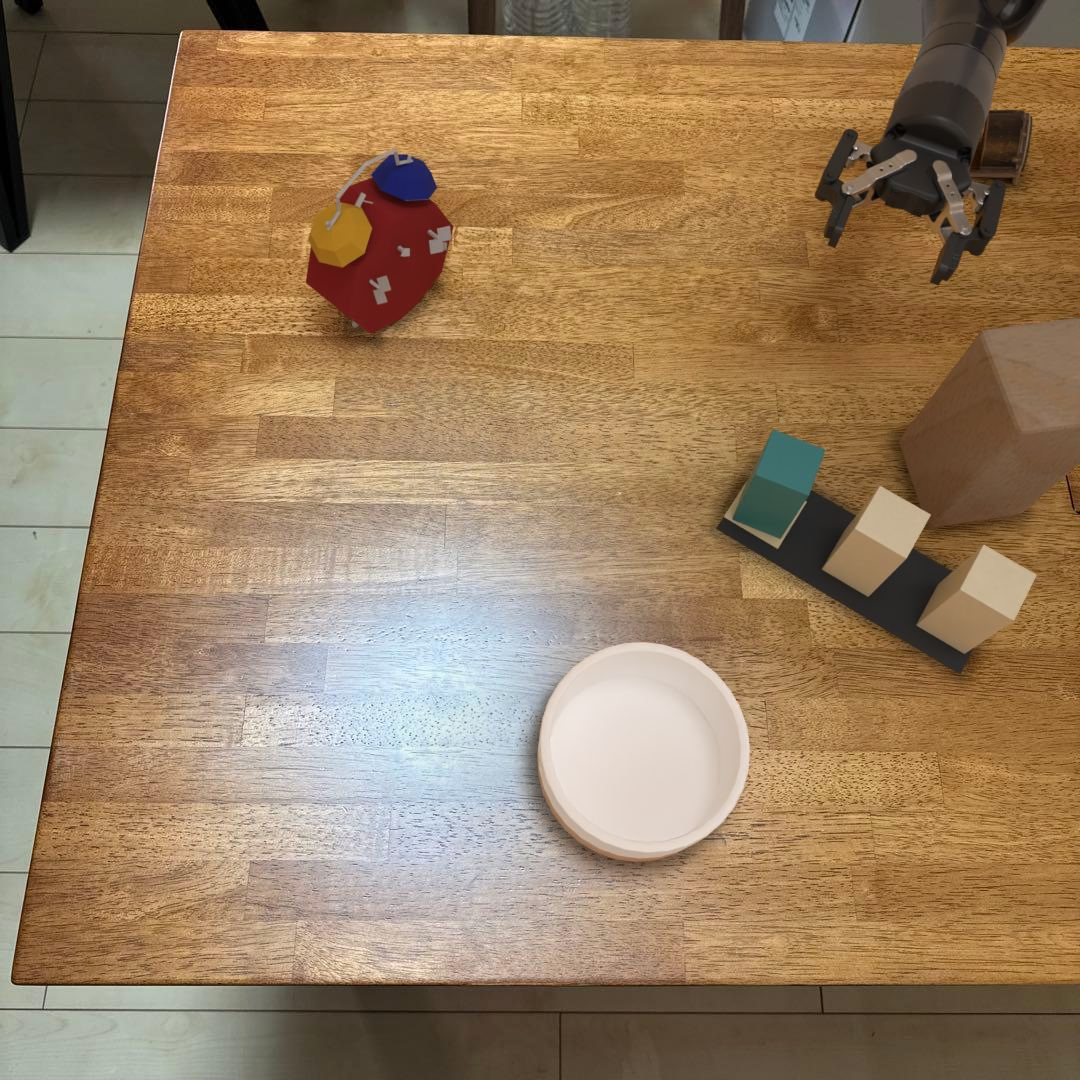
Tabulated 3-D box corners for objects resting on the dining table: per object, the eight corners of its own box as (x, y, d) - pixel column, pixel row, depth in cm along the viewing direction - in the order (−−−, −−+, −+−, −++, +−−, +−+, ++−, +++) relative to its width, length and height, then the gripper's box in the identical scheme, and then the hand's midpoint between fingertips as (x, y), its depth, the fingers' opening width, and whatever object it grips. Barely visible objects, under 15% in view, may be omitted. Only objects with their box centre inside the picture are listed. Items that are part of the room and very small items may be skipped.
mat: (997, 599, 97) (999, 597, 97) (958, 675, 94) (960, 674, 94) (759, 462, 102) (760, 459, 102) (715, 530, 99) (716, 528, 99)
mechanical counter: (1023, 185, 110) (1068, 113, 111) (920, 124, 111) (966, 54, 112) (994, 216, 117) (1037, 149, 118) (898, 159, 118) (942, 93, 119)
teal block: (796, 496, 100) (826, 449, 91) (780, 539, 98) (809, 495, 89) (748, 477, 101) (773, 428, 92) (731, 519, 99) (755, 474, 90)
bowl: (743, 691, 93) (764, 666, 85) (713, 884, 87) (733, 876, 79) (559, 648, 94) (564, 620, 86) (516, 836, 88) (517, 824, 80)
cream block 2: (986, 611, 96) (1037, 574, 87) (964, 654, 95) (1014, 620, 85) (938, 583, 97) (983, 544, 88) (915, 625, 96) (959, 589, 86)
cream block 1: (891, 556, 98) (931, 514, 89) (868, 597, 96) (906, 558, 87) (845, 529, 99) (880, 485, 90) (821, 569, 97) (854, 528, 88)
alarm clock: (415, 241, 111) (397, 97, 93) (473, 285, 109) (467, 148, 91) (317, 325, 107) (277, 192, 88) (375, 373, 105) (348, 247, 86)
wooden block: (1021, 516, 101) (1137, 416, 82) (925, 530, 100) (1020, 432, 81) (988, 427, 104) (1092, 313, 86) (895, 440, 104) (980, 327, 85)
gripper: (872, 53, 83) (813, 195, 77) (1042, 109, 82) (995, 260, 76) (844, 122, 90) (787, 258, 84) (1000, 176, 89) (954, 318, 83)
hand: (886, 259), depth 80 cm, fingers open, 8 cm apart
